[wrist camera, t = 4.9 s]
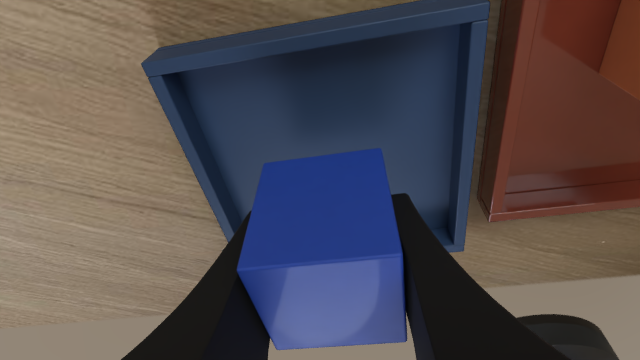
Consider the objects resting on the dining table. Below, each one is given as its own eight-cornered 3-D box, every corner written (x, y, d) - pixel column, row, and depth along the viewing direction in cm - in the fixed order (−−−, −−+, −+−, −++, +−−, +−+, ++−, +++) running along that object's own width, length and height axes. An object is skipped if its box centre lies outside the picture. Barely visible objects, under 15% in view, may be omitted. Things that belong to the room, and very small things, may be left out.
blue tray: (455, 227, 18) (464, 251, 17) (248, 248, 20) (242, 272, 18) (473, -10, 12) (491, 1, 10) (158, 47, 13) (139, 63, 12)
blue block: (388, 231, 14) (407, 343, 11) (289, 241, 15) (275, 351, 11) (381, 146, 12) (402, 255, 8) (262, 162, 12) (234, 270, 9)
